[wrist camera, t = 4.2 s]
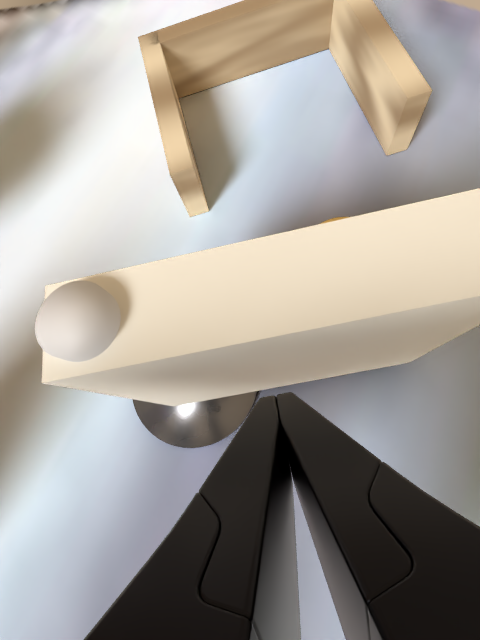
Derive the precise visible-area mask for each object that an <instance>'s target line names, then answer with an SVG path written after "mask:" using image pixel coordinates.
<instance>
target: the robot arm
mask: <svg viewBox="0 0 480 640" xmlns="http://www.w3.org/2000/svg"><path fill="white" fill-rule="evenodd" d="M290 468H291V469H290ZM291 472H292V475H291ZM292 477H293V481H294V484H295V488H296V491H297V494H298V497H299V500H300V503H301V506H302V509H303V512H304V515H305V518H306V521H307V524H308V527H309V530H310V533H311V536H312V539H313V542H314V545H315V548H316V551H317V554H318V557H319V560H320V563H321V566H322V569H323V572H324V575H325V578H326V581H327V584H328V587H329V590H330V593H331V596H332V599H333V602H334V605H335V608H336V611H337V614H338V617H339V620H340V623H341V626H342V629H343V632H344V635H345V638H346V640H480V527H479V526H477V525H476V524H474V523H473V522H471V521H469V520H468V519H466V518H464V517H463V516H461V515H460V514H458V513H456V512H455V511H453V510H452V509H450V508H449V507H447V506H446V505H444V504H443V503H441V502H439V501H438V500H436V499H435V498H433V497H432V496H430V495H429V494H427V493H426V492H424V491H423V490H421V489H420V488H418V487H417V486H416V485H414V484H413V483H412V482H410V481H409V480H407V479H406V478H405V477H403V476H402V475H400V474H399V473H398V472H396V471H395V470H394V469H392V468H391V467H390V466H388V465H387V464H386V463H384V462H382V461H381V460H380V459H378V458H377V457H376V456H374V455H373V454H372V453H371V452H369V451H368V450H367V449H365V448H364V447H363V446H361V445H360V444H359V443H357V442H356V441H355V440H354V439H352V438H351V437H350V436H348V435H347V434H346V433H344V432H343V431H342V430H340V429H339V428H338V427H337V426H335V425H334V424H333V423H331V422H330V421H329V420H327V419H326V418H325V417H323V416H322V415H321V414H320V413H318V412H317V411H316V410H314V409H313V408H312V407H310V406H309V405H308V404H306V403H305V402H304V401H303V400H301V399H300V398H299V397H297V396H296V395H295V394H293V393H291V392H289V393H283V394H279V395H277V397H275V396H267V397H262V398H260V399H259V400H258V402H257V403H256V405H255V406H254V408H253V409H252V411H251V412H250V414H249V415H248V417H247V419H246V420H245V422H244V423H243V425H242V426H241V428H240V429H239V431H238V432H237V434H236V435H235V437H234V438H233V440H232V441H231V443H230V444H229V446H228V447H227V449H226V450H225V452H224V453H223V455H222V456H221V458H220V459H219V461H218V462H217V464H216V465H215V467H214V469H213V470H212V472H211V473H210V475H209V476H208V478H207V479H206V481H205V482H204V484H203V485H202V487H201V488H200V490H199V493H196V495H195V496H194V498H193V499H192V501H191V502H190V504H189V505H188V507H187V508H186V510H185V511H184V513H183V514H182V515H181V517H180V518H179V520H178V521H177V523H176V524H175V525H174V527H173V528H172V530H171V531H170V532H169V534H168V535H167V536H166V538H165V539H164V540H163V541H162V543H161V544H160V545H159V547H158V548H157V549H156V550H155V552H154V553H153V554H152V556H151V557H150V558H149V559H148V561H147V562H146V563H145V564H144V566H143V567H142V568H141V569H140V571H139V572H138V573H137V574H136V576H135V577H134V578H133V579H132V581H131V582H130V583H129V584H128V585H127V587H126V588H125V589H124V590H123V592H122V593H121V594H120V595H119V597H118V598H117V599H116V600H115V602H114V603H113V604H112V605H111V607H110V608H109V609H108V610H107V611H106V613H105V614H104V615H103V616H102V618H101V619H100V620H99V621H98V623H97V624H96V625H95V626H94V628H93V629H92V630H91V631H90V632H89V634H88V635H87V636H86V637H85V639H84V640H301V628H300V609H299V591H298V572H297V553H296V535H295V516H294V498H293V483H292Z"/></svg>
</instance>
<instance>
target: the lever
mask: <svg viewBox="0 0 480 640" xmlns="http://www.w3.org/2000/svg"><path fill="white" fill-rule="evenodd" d="M479 325H480V188H478V189H474V190H470V191H465V192H461V193H456V194H452V195H447V196H443V197H438V198H434V199H430V200H425V201H421V202H416V203H412V204H407V205H403V206H398V207H394V208H389V209H385V210H381V211H376V212H372V213H367V214H363V215H358V216H354V217H349V218H345V219H341V220H336V221H332V222H327V223H323V224H318V225H314V226H309V227H305V228H301V229H296V230H292V231H287V232H283V233H278V234H274V235H269V236H265V237H261V238H256V239H252V240H247V241H243V242H238V243H234V244H229V245H225V246H220V247H216V248H212V249H207V250H203V251H198V252H194V253H189V254H185V255H180V256H176V257H172V258H167V259H163V260H158V261H154V262H149V263H145V264H140V265H136V266H132V267H127V268H123V269H118V270H114V271H109V272H105V273H100V274H96V275H91V276H87V277H83V278H78V279H74V280H69V281H65V282H60V283H56V284H51V285H47V286H45V301H44V302H43V304H42V305H41V307H40V309H39V311H38V314H37V317H36V321H35V334H36V338H37V341H38V343H39V345H40V346H41V348H42V349H43V359H42V383H44V384H50V385H55V386H61V387H67V388H72V389H78V390H84V391H89V392H95V393H101V394H106V395H112V396H117V397H123V398H129V399H134V400H140V401H146V402H151V403H157V404H163V405H168V406H179V405H184V404H190V403H195V402H200V401H206V400H211V399H217V398H222V397H227V396H233V395H238V394H243V393H249V392H254V391H259V390H265V389H270V388H276V387H281V386H286V385H292V384H297V383H302V382H308V381H313V380H318V379H324V378H329V377H335V376H340V375H345V374H351V373H356V372H361V371H367V370H372V369H377V368H383V367H388V366H394V365H399V364H404V363H409V362H411V361H413V360H415V359H417V358H419V357H421V356H422V355H424V354H426V353H428V352H430V351H432V350H434V349H436V348H438V347H439V346H441V345H443V344H445V343H447V342H449V341H451V340H453V339H454V338H456V337H458V336H460V335H462V334H464V333H466V332H468V331H469V330H471V329H473V328H475V327H477V326H479Z"/></svg>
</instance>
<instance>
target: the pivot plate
mask: <svg viewBox="0 0 480 640" xmlns="http://www.w3.org/2000/svg"><path fill="white" fill-rule="evenodd" d="M256 393H257V391H254V392H249V393H243V394H238V395H233V396H227V397H222V398H217V399H211V400H206V401H200V402H195V403H190V404H184V405H179V406H168V405H163V404H157V403H151V402H146V401H140V400H134V399H133V403H134V407H135V409H136V412H137V414H138V416H139V418H140V420H141V422H142V423H143V424H144V426H145V427H146V428H147V429H148V430H149V431H150V432H151V433H152V434H153V435H154V436H156V437H157V438H158V439H160V440H162V441H164V442H166V443H168V444H171V445H174V446H178V447H183V448H197V447H203V446H207V445H211V444H214V443H216V442H219V441H221V440H222V439H224V438H226V437H227V436H229V435H230V434H231V433H233V432H234V431H235V430H236V429H237V428H238V427H239V426H240V425H241V424H242V423H243V421H244V420H245V419H246V417H247V415H248V414H249V412H250V410H251V408H252V406H253V403H254V401H255V397H256Z"/></svg>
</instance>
